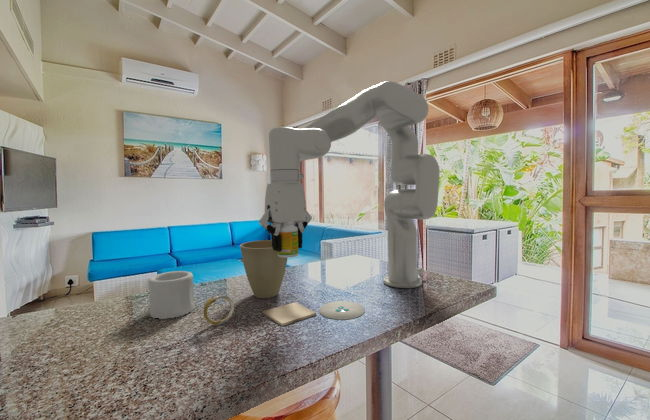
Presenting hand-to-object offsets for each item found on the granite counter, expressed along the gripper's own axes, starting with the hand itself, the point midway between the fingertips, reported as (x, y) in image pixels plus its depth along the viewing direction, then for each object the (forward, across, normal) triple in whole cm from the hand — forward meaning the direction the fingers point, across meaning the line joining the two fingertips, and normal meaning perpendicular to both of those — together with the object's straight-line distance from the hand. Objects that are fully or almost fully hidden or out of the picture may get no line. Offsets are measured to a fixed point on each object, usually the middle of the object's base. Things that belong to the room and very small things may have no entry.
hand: (287, 248), depth 78 cm
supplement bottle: (+2, 0, 0) cm, 2 cm away
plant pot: (+17, -3, -18) cm, 25 cm away
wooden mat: (+17, 0, 0) cm, 17 cm away
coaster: (+17, -12, +7) cm, 22 cm away
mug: (+17, +23, -24) cm, 38 cm away
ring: (+17, +16, -6) cm, 25 cm away
